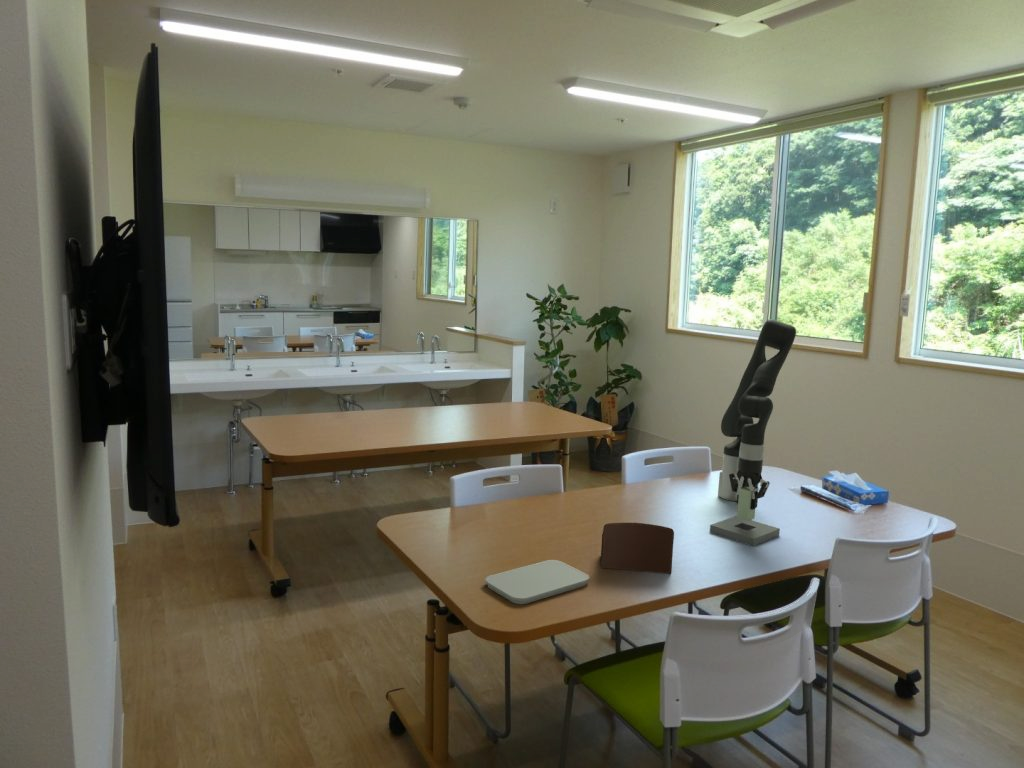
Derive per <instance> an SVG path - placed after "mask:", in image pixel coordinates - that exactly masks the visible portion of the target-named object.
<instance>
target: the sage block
mask: <svg viewBox="0 0 1024 768" xmlns="http://www.w3.org/2000/svg"><path fill="white" fill-rule="evenodd" d="M751 494H752V492H751V491H750V489H749V487H744V488H739V499H738V504H737V511H736V512H737V513H736V516H737V518H739V519H743V520H746V521H749V520H754V519H755V516H756V514H755V513H756V508H755V509H754V510H751V509H750V507H751V499H752V496H751Z"/></svg>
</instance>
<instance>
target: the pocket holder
mask: <svg viewBox="0 0 1024 768" xmlns="http://www.w3.org/2000/svg"><path fill="white" fill-rule="evenodd" d="M780 530H781V529H780V528H779V527H775V526H773V525H770V524H769V525H768V524H765V523H763V522H759V521H756V520H754V519H752V520H749V521H746V520H743V519H739V518H737V515H734V516H732V517H728V518H726V519H723V520H720V521H718V522H714V523H711V524H710V525H709V533H712V534H715V535H718V536H720V535H721V536H720V537H723V536H724V537H723V538H726V537H727V539H729V538H730V539H729V540H733V541H736V540H737V541H736V542H739V541H740V542H739V543H742V542H743V543H742V544H745V543H746V544H745V545H748V544H749V546H751V545H752V546H751V547H755V546H757V544H758V545H760V544H762V542H763V543H765V542H767V540H768V541H770V540H772V538H773V539H775V538H777V536H778V537H780V533H781V532H780ZM764 541H765V542H764ZM759 543H760V544H759ZM754 545H755V546H754Z"/></svg>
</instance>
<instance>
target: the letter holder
mask: <svg viewBox="0 0 1024 768" xmlns="http://www.w3.org/2000/svg"><path fill="white" fill-rule="evenodd" d="M674 539H675V531H674V529H673V528H672V527H671V528H670V527H667V526H663V525H656V524H651V523H642V522H610V523H609V522H608V523H605V524H604V526H603V529H602V534H601V546H600V547H601V551H600V567H601V569H607V570H608V569H609V570H610V569H611V570H620V571H631V572H645V573H654V574H657V573H658V574H667V575H668V574H669V575H671V574H672V570H673V569H672V568H673V553H674Z"/></svg>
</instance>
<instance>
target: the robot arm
mask: <svg viewBox="0 0 1024 768" xmlns="http://www.w3.org/2000/svg"><path fill="white" fill-rule="evenodd" d="M796 335H797V329H796V327H795V326H793V325H792V324H788V323H785V322H782V321H780V320H776V319H773V318H769V319H766V321H765V322H764V323H763V325H762V328H761V330H760V333H759V336H758V338H757V341H756V344H755V347H754V350H753V353H752V354H751V355H752V356H751V358H750V360H749V362H748V364H747V366H746V368H745V370H744V373H743V375H742V377H741V379H740V382H739V385H738V387H737V390H736V392H735V394H734V395H733V396H734V397H733V398H732V400H731V402H730V404H729V406H728V407H727V409H726V410H725V412H724V414H723V417H722V418H721V419H722V420H721V421H720V422H721V424H720V430H721V433H722V435H724V436H725V437H727V438H736V439H734V441H732V442H730V443H727V444H726V445H724V447H723V454H722V455H723V457H722V458H723V459H722V468H721V470H722V471H720V472H719V477H718V489H717V497H720V498H721V499H723V500H727V501H730V502H731V501H732V502H736V504H737V505H738V499H739V488H744V487H749V489H750V491H751V492H752V494H751V496H752V499H751V507H750V509H751V510H754V509H755V510H756V509H757V508H758V500H759V499H762V498H764V497H765V494H766V493H767V490H768V488H769V487H770V485H771V483H770V481H766V480H765V479H763V476H762V473H763V465H764V464H763V462H764V451H765V450H764V449H765V446H764V443H765V433H766V429H767V425H768V423H769V420H770V417H771V415H772V412H773V409H774V403H773V400H772V399H771V398H770V396H771V394H772V393H773V391H774V389H775V385H776V381H777V379H778V376H779V374H780V371H781V369H782V367H783V366H784V364H785V362H786V359H787V357H788V355H789V353H790V351H791V349H792V346H793V344H794V341H795V338H796ZM766 347H768V348H771V349H775V350H778V352H777V353H776V354H774V356H772V357H770V358H769V359H767V356H766ZM754 419H758V421H757V423H754ZM759 484H760V485H759ZM759 486H760V488H759Z"/></svg>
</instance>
